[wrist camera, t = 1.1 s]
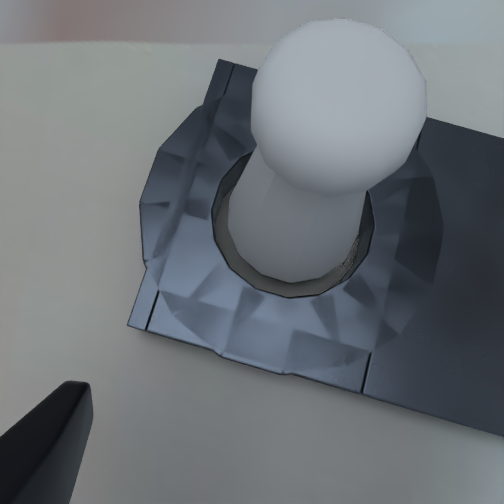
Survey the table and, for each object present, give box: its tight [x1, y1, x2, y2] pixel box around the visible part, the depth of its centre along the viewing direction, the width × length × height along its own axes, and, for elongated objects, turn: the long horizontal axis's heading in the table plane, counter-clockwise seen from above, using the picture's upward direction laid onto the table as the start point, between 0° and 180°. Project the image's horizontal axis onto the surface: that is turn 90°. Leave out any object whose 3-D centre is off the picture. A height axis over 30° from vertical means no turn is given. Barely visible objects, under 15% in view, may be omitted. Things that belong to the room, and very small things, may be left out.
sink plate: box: [127, 59, 504, 437], centre depth 22 cm, size 25×13×2 cm, turn 74°
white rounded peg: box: [227, 18, 427, 283], centre depth 17 cm, size 6×6×13 cm
